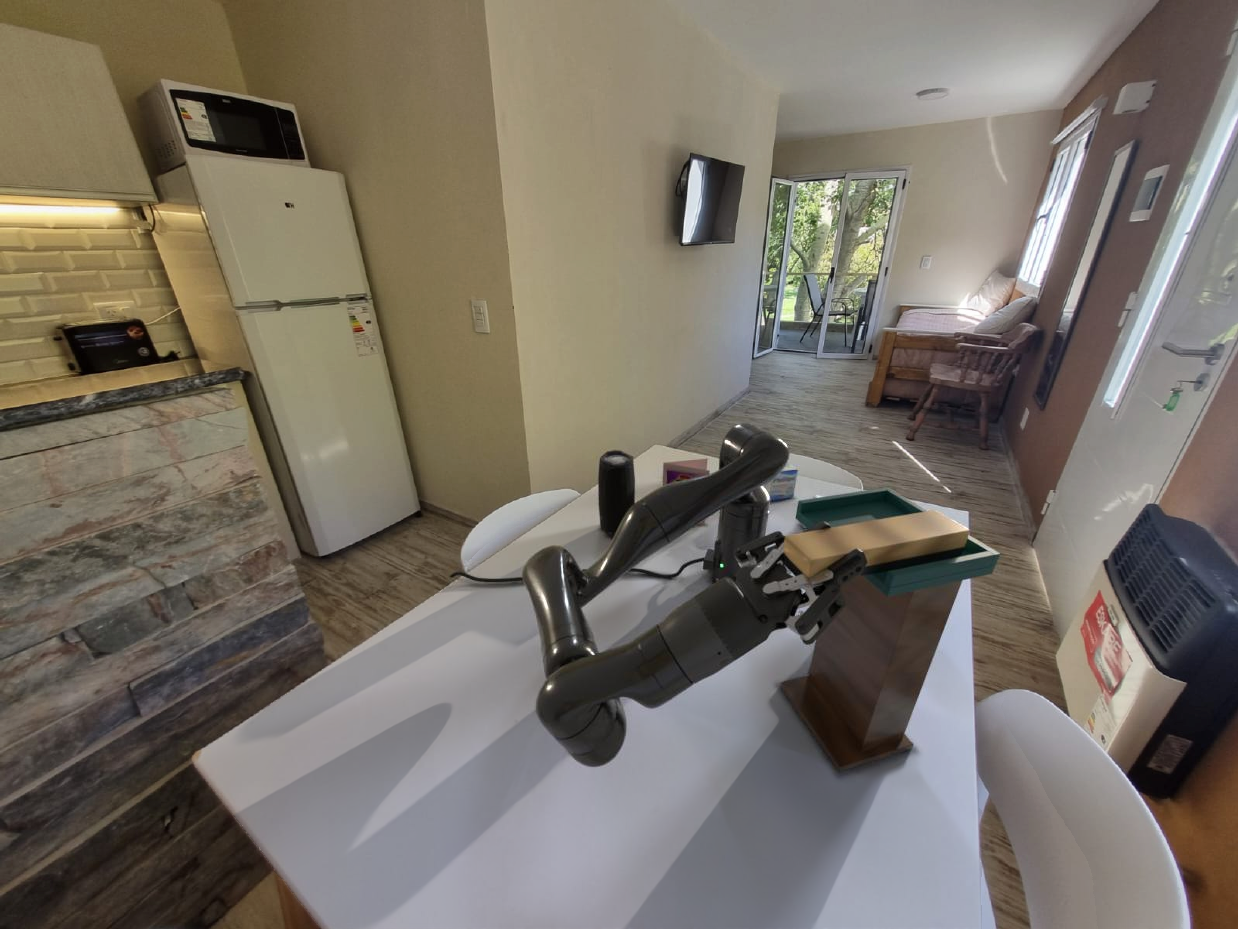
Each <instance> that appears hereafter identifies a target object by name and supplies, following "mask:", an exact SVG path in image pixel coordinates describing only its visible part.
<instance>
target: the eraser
mask: <svg viewBox="0 0 1238 929" xmlns="http://www.w3.org/2000/svg"><path fill="white" fill-rule="evenodd" d="M802 532H803V531H802ZM802 532H797V533H793V534H786V535H784V536H785V541H784V547H783V552H784V565H785V566H786V567H787V568H788V569H789V570H790V571H791V574H792V575H793V576H794V577H795V576H798V575H801V574H806V575H807V577H808V578H809V577H812V576H813V575H815V574H816V573H818V572H820V571H823V570H829V568H828V566H830V565H831V564H833V563H834V562H836V561H837V560H839V559H840V558H842V557H843V556H845V555H846V554H848V553H849V552H851V551H852V550H854V549H856V548H858V549H860V550H861V551H862V552H864V554H865V557H866V559H867V564H866V566H865V567H866V568H865V570H864V571H863V572H862V573H861V574H859V575H858V576H856V577H859V576H864V575H869V574H874V573H879V572H884V571H889V570H894V569H899V568H904V567H908V566H913V565H918V564H923V563H928V562H933V561H938V560H943V559H948V558H953V557H958V556H961V555H962V553H963V550H964V547H965V544H966V541H967V539H968V536H969V535H970V533H971V530H970V529H969V528H967V527H966V526H964V525H962V524H961V523H959V522H957V521H955V520H954V519H952V518H950V517H948V516H947V515H945V514H943V513H942V512H939V511H938V510H936V509H932V510H927V511H926V512H920V513H914V514H908V515H902V516H896V517H891V518H885V519H879V520H873V521H867V522H861V523H856V524H850V525H844V526H838V527H832V528H827V529H821V530H815V531H809V532H803V533H802Z"/></svg>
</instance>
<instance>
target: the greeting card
mask: <svg viewBox="0 0 1238 929" xmlns="http://www.w3.org/2000/svg"><path fill="white" fill-rule="evenodd" d="M662 463H663V465H662V484H661V486H663V485H666V484H669V483H673V482H677V481H682V480H687V479H692V478H697V477H701V476H705V475H708V474H711V472H710V470H708V458H700V459H699V458H698V459H689V460H678V461H677V460H675V461H666V462H662ZM697 525H703V526H705V525H706V519H705V520H703V521H701V522H700V523H698V524H697Z"/></svg>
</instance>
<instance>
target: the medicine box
mask: <svg viewBox="0 0 1238 929" xmlns="http://www.w3.org/2000/svg"><path fill="white" fill-rule="evenodd" d="M798 473H799V469H797V468H796V467H795V466H794V465H792V464H790V463H787V464H786V466H785V468H784V469H783V471H782V472H781V473H780V474H779V475H778V476H777V477H775V478H774V479H773V480H772V481H770V482H769V483H767V484H765V485H764V487H765V488H766V490H767V491H768V493H769V495H770V502H771V501H772V502H773V501H780V500H785V499H792V498H794V496H795V490H796V484H797V480H798Z"/></svg>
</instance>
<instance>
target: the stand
mask: <svg viewBox="0 0 1238 929" xmlns="http://www.w3.org/2000/svg"><path fill="white" fill-rule="evenodd" d="M963 581H964V580H961V581H957V582H952V583H948V584H943V585H939V586H934V587H929V588H925V589H920V590H916V591H911V592H907V593H902V594H898V595H893V596H888V597H887V596H886V595H885V594H884V593H882V592H881V591H880V590H879V589H878V588H877V587H875V586H874V585H873V584H872V583H871V582H869V581H868V580H867V579H866V578H865V577H864V576H859V577H854V578H853V579H851V580H850V581H848V582H847V583H845V584H844V585H843V586H842V587H841V593H842V595H843V598H844V600H845V602H846V606H845V608H844V609H843V610H842V611H841V612H840V613H839V614H838V616H837V617H836V618H835V619H834V620H833V621H832V622H831V623H830V625H829V626H828V627H827V628H826V629H825V630H824V631H823V632H822V634H821V635H820V636H819V637H818V638H817V639H816V640H815V642H814V648H813V651H812V656H811V661H810V665H809V668H808V673H807V675H804V676H800V677H796V678H793V679H788V680H784V681H781V682H780V683H779V688H780V689H781V691H782V692H783V694H784V695H785V697H786V698H787V700H788V701H789V703H790V704H791V705H792V707H793V708H794V709H795V711H796V712H797V714H798V715H799V717H800V718H801V720H802V721H803V723H804V724H805V725H806V727H807V728H808V730H809V732H810V733H811V734H812V736H813V737H814V738H815V740H816V742H817V743H818V744H819V746H820V748H821V749H822V750H823V752H824V753H825V755H827V757H828V759H829V760H830V762H831V764H832V765H833V766H834V767H835V769H836V770H837V772H838V773H840V772H844V771H847V770H850V769H854V768H856V767H859V766H863V765H866V764H870V763H872V762H875V761H878V760H880V759H885V758H887V757H891V756H894V755H897V754H901V753H904V752H906V751H910V750H912V749H913V747H914V746H915V745H914V743H913V741H912V740H911V739H910V738H909V737H908V736H907V734H906V731H907V728H908V726H909V723H910V721H911V717H912V716H913V712H914V710H915V707H916V705H917V701H918V699H919V697H920V694H921V691H922V688H923V686H924V684H925V680H926V679H927V675H928V673H929V670H930V668H931V665H932V663H933V659H934V658H935V657H934V656H935V654H936V651H937V649H938V647H939V643H940V641H941V638H942V636H943V633H944V630H945V628H946V625H947V622H948V620H949V617H950V615H951V612H952V609H953V607H954V604H955V601H956V599H957V596H958V594H959V591H960V589H961V586H962V583H963Z"/></svg>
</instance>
